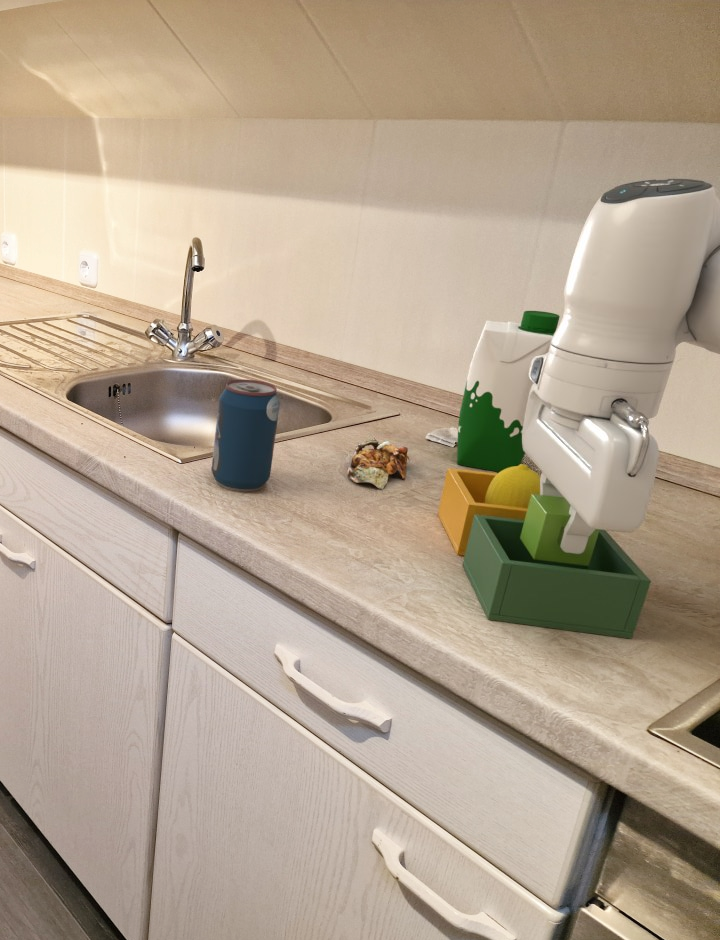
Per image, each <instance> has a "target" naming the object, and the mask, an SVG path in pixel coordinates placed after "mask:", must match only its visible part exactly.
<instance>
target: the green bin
mask: <svg viewBox="0 0 720 940" xmlns="http://www.w3.org/2000/svg"><path fill="white" fill-rule="evenodd" d="M524 521H525V520H521V519H512V518H503V517H494V516H486V515H477V514H475V515H474V519H473V523H472V527H471V531H470V535H469V540H468V544H467V548H466V552H465V556H464V557H463V561H462V565H461V566H462V568H463V570H464V572H465V574H466V576H467V578H468V580H469V582H470V585H471V587H472V589H473V591H474V593H475V595H476V597H477V599H478V602H479V604H480V606H481V608H482V610H483V613H484V614H485V616H486V618H487V620H489V621H495V622H504V623H511V624H519V625H527V626H534V627H539V628H541V627H542V628H549V629H554V630H555V629H556V630H562V631H563V630H564V631H570V632H579V633H587V634H593V635H599V636H600V635H601V636H608V637H616V638H623V639H630V640H631V639H632V638H633V637H634V633H635V631H636V627H637V624H638V621H639V619H640V616H641V613H642V610H643V608H644V603H645V601H646V598H647V595H648V592H649V589H650V585H651V583H652V580H651V579H650V578H649V577H648V575H646V574H645V572H644V571H643V570H642V568H640V567H639V566H638V565H637V563H636V562H635V561H634V560H633V559H632V558H631V556H630V555H628V553H626V551H625V550H624V549H623V548H622V547H621V546H620V545H619V544H618V543H617V542H616V541H617V540H615V539H614V538H613V537H612V536H611V535H610V533H609V532H608V530H599V533H598V536H597V540H596V543H595V546H594V550H593V553H592V556H591V560H590V563H589V566H584V565H576V564H567V563H559V562H551V561H543V560H535V559H533V557H532V556H531V554H530V553H529V551H528V550H527V548H526V547H525V545H524V544H523V542H522V541H521V539H520V536H521V532H522V528H523V524H524Z"/></svg>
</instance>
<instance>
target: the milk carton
mask: <svg viewBox="0 0 720 940" xmlns="http://www.w3.org/2000/svg"><path fill="white" fill-rule="evenodd" d="M560 318H561V317H560V314H557V313H553V312H550V311H549V312H548V311H541V310H525V311H523V313H522V318H521V322H520V323H518V322H515V321H507V322H505V321H497V320H487V319H486V321H485V323H484V326H483V328H482V331H481V334H480V337H479V339H478V341H477V344H476V347H475V349H474V353H473V355H472V359H471V362H470V364H469V368H468V372H467V378H466V382H465V387H464V391H463V396H462V400H461V405H460V410H459V415H458V424H457V453H456V454H457V457H456V465H458V466H463V467H469V468H474V469H480V470H484V471H492V472H495V473H499V472H501V471H502V470H504V469H506V468H509V467H514V466H519V465H520V464H522V462H523V460H524V457H525V455H526V453H525V452H524V451H523V447H522V429H523V423H524V418H525V412H526V407H527V402H528V397H529V393H530V389H531V387H532V385H533V384H534V383H533V382H532V381H531V380H530V378H529V370H530V366H531V362H532V360H533V358H534V357H536V356H540V355H544V354H546V353H548V352H549V348H550V344H551V340H552V337H553V335H554V333H555V332H556V330H557V328H558V326H559V322H560Z"/></svg>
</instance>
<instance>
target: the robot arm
mask: <svg viewBox="0 0 720 940" xmlns="http://www.w3.org/2000/svg"><path fill="white" fill-rule="evenodd" d="M572 255H573V256H572V259H571V263H570V266H569V270H568V273H567V277H566V281H565V285H564V290H563V299H564V300H563V301H564V309H563V310H564V311H563V315H562V318H561V320H560V323H559V324H558V326H557V329H556V332H555V333H554V335H553V337H552V340H551V344H550V348H549V352H548V353H546V354H544V355H540V356H536V357H534V358H533V360H532V362H531V366H530V370H529V378H530V380H531V381H532V382H533V383H534V384H533V385H532V387H531V389H530V393H529V397H528V402H527V407H526V412H525V418H524V423H523V429H522V447H523V451H524V452H525V455H526V456H528V458H529V459H530V460H531V461H532V463H534V464H535V466H536V467H537V468H538V469H539V471H541V474H540V477H541V478H540V495H546V496H555V497H564V498H565V499H566V500H567V501H568V503H569V504H570V505H571V506H570V510H569V514H570V515H571V517H570V519H569V521H568V523H567V525H566V527H561V529H560V533H559V537H558V540H557V542H558V544H559V546H560V547H561V549H562V550H563V551H564V552H566V553H574V554H581V553H583V552H584V550H585V548H586V544H587V541H588V538H589V536H590V535H591V534H592V533H593V532H594V531H595V529H600V530H606V531H607V532H608V531H609V532H618V533H628V534H629V533H630V534H631V533H634V532H637V530H638V529H639V528H640V527H641V526H642V525H643V523H644V521H645V519H646V516H647V514H648V513H647V512H648V509H649V505H650V501H651V497H652V493H653V488H654V486H655V485H654V484H655V479H656V476H657V475H656V474H657V470H658V464H659V455H660V454H659V453H660V449H659V444H658V442H657V440H656V438H655V437H654V436H653V435H652V434H651V433H649V424H650V419H653V418H655V417H656V416H657V415H658V413H659V410H660V406H661V403H662V400H663V397H664V393H665V390H666V388H667V385H668V381H669V378H670V375H671V371H672V368H673V365H674V362H675V358H676V353H677V347H678V345H680V344H681V343H687V344H690V345H693V346H695V347H698V348H703V349H705V350H706V351H709V352H711V353H714V354H717V355H720V199H719V198H718V197H717V195H716V188H715V187H714V185H713V184H711V183H709V182H706V181H704V180H701V179H700V180H699V179H692V178H668V179H648V180H639V181H633V182H628V183H623V184H620V185H617V186H615V187H614V188H611V189H610V190H607V191H605V192H604V193H603V194H602V195H601V196H600V197H599V198H598V199H597V201H596V202H595V203H594V205H593V207H592V208H591V210H590V212H589V214H588V216H587V218H586V220H585V222H584V225H583V227H582V229H581V231H580V235H579V237H578V240H577V244H576V246H575V249H574V253H573V254H572Z"/></svg>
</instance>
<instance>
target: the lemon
mask: <svg viewBox="0 0 720 940" xmlns="http://www.w3.org/2000/svg"><path fill="white" fill-rule="evenodd" d="M497 473H498V474H497V475H496V476H495V477H494V478H493V480H492V482H491V483H490V485H489V488H488V490H487V493H486V497H485V504H494V505H502V506H511V507H520V508H528V506H529V502H530V498H531V494H537V495H540V478H541V475H539V474H538V473H537V472H536V471H535V470H533V469H531V468H529V465H527V464H525V463H521V464H520V465H519V466H514V467H509V468H506V469H504V470H502V471H501V472H497Z"/></svg>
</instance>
